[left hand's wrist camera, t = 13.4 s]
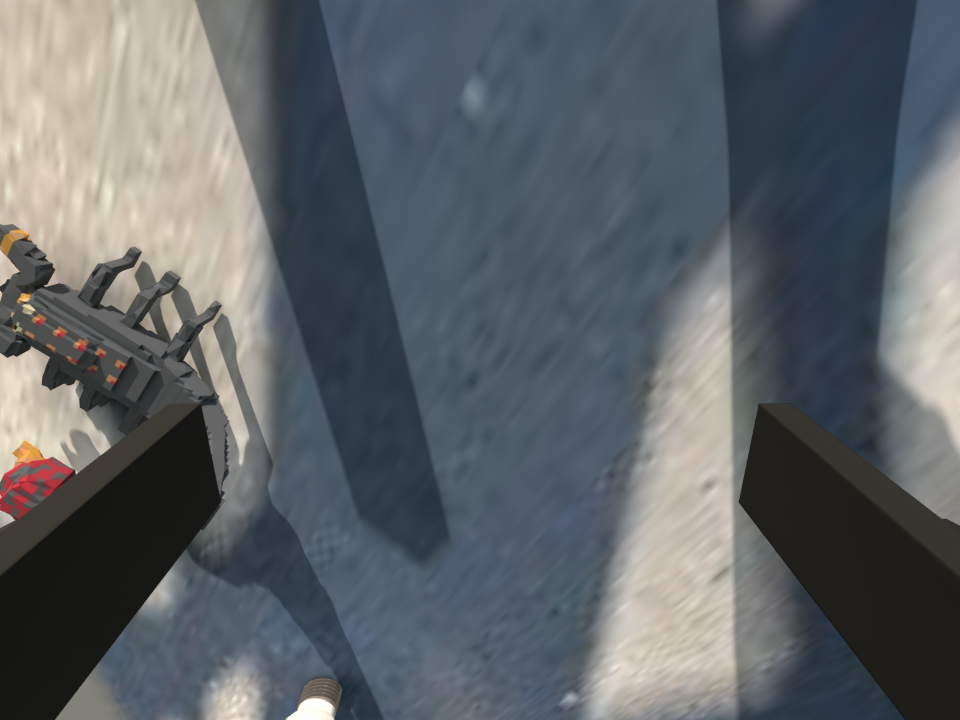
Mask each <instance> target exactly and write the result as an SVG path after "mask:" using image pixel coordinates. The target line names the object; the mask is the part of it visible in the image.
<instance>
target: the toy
mask: <svg viewBox="0 0 960 720" xmlns="http://www.w3.org/2000/svg"><path fill="white" fill-rule="evenodd" d="M28 237H29V235H28V234H27V233H25V232H24V231H22V230H21V229H19V228H18V227H16V226H14V225H13V224H11V225H1V224H0V250H1V251H2V252H3V253H4V254H5V255H6V256H7V257H8V258H9V259H10V260H11V262H12V263H13V264H14V265H15V267H16V268H17V269H18V270H19V271H20V272H18V273H16V274H13V275H12V277H11V279H7V281H6V283H5V284H3V285H2V286H0V291H1V292H2V297H1V301H0V353H1V354H3V355H4V356H6V357H7V358H8V357H10V356H12V355H14V356H16V357H17V356H19V355H21V354H22V353H24V352H26V351H28V350H30V348H31V346H32V347H34V348H35V349H37V350H39V351H40V352H42V353H44V354H46V355H47V356H49V357H50V359H49V361H48V363H47V366H46V369H45V371H44V374H43V377H42V385H44V386H46V387H48V388H49V389H50V390H52V389H54V388H56V387H58V386H60V385H62V384H66V385H72V384H74V382H75V380H76V379H77V380H78V381H80V382H82V383H84V384H85V385H84V391H83V393H82V395H81V397H80V399H79V402H80V408H82V409H83V410H85V411H89V410H90V409H92V408H93V407H95V406H97V405H99V406H100V407H102V406H104V405H106V404H107V403H108V401H109V400H110V398H112V399H115V400H116V401H118V402H120V403H122V404H123V405H125V406H127V407H129V410H128V411H127V413H126V415H125V417H124V418H123V420H122V422H121V424H120V426H119V428H118V430H120V431H122V432H123V433H125V434H127V435H128V434H130V433H131V432H132V431H133V430H135V429H136V428H137V427H139V426H140V425H141V424H143V423H144V422H145V421H146V420H148V419H149V418H150V417H152V416H153V415H154V414H156V413H157V412H158V411H159V410H161V409H162V408H163V407H165V406H166V405H167V404H201V406H202V411H203V415H204V420H205V425H206V430H207V435H208V440H209V445H210V450H211V455H212V460H213V464H214V469H215V474H216V479H217V484H218V489H219V494H220V499H221V503H220V505H219V506H218V507H217V508H216V510H215V511H214V512H213V514H212V515H211V516H210V518H209V519H208V520H207V522H206V523H205V524H204V525H203V527H202V528H201V529H202V530H204V529H205V527H206V526H207V525H208V523H209V522H210V521H211V519H212V518H213V516H214V515H215V514H216V512H217V511H218V509H219V508H220V507H221V505H222V504H223V503H224V501H225V500H223V499H222V496H223V495H224V493H225V492H224V491H222V490H221V489H222V485H223V481H224V479H225V478H226V477H227V475H228V474H229V470H228V467H229V465H227V464H226V463H227V462H228V460H229V459H228V458H227V457H226V456H227V455H228V454H229V452H228V451H226V450H227V449H228V447H229V446H228V445H227V444H226V443H227V440H226V437H227V433H226V431H225V427H226V425H227V424H228V422H229V420H227V416H225V415H224V414H222V413H221V412H222V410H220V406H219V404H218V401H217V399H218V398H219V396H218V395H217V394H216V393H215V391H214V390H213V389H212V388H210V387H209V386H208V385H207V384H206V383H205V382H204V381H203V380H202V379H200V378H199V377H198V375H197V372H196V371H195V370H194V369H193V368H192V367H191V366H189V365H188V364H187V363H186V362H185V361H183V360H184V358H185V356H186V354H187V352H188V351H189V349H190V347H191V345H192V343H193V341H194V340H195V339H196V337H197V336H198V334H199V333H200V332H201V330H202V329H203V326H204V325H205V324H206V323H208V322H210V321H211V320H213V319H214V317H215V316H216V314H217V312H218V311H219V309H220V308H221V306H222V305H221V304H219V303H218V302H216V301H214V302H213V303H212V305H211V306H210V307H209V308H208V309H207V310H206V311H205V312H204V313H202V314H201V315H199V316H197V317H195V318H193V319H192V320H191V319H190V318H189V319H187V320H185V321H184V323H183V325H182V327H181V328H180V330H179V332H178V333H176V334H175V336H174V338H173V340H172V342H171V344H170V346H169V343H168V342H167V341H165V340H164V339H162V338H161V337H160V336H158V335H157V334H155V333H154V332H152V331H147V330H146V329H145V328H144V327H142V326H141V325H140V324H139V323H140V322H141V321H142V320H143V318H144V317H145V315H146V314H147V312H148V311H149V309H150V308H151V306H152V305H153V303H154V302H155V300H156V299H157V298H158V297H160V296H163V295H165V294H168V293H170V292H171V291H173V290H174V289H175V287H176V285H177V284H178V282H179V280H180V279H181V277H179V276H178V275H176V274H175V273H173V272H172V271H168V272H166V273H165V274H164V276H163V277H162V278H161V280H160V281H159V282H158V283H157V284H156V285H154V286H152V287H150V288H147V289H145V290H143V291H141V292H140V293H138V294H137V296H136V298H135V299H134V301H133V303H132V304H131V306H130V308H129V309H128V311H127V313H126V314H124V313H123V312H121V311H119V310H118V309H116V308H115V307H113V306H112V305H111V306H108V307H104V306H103V305H101V304H100V302H101V300H102V298H103V296H104V294H105V292H106V290H107V289H108V288H109V287H110V285H111V284H112V282H113V281H114V279H115V278H116V276H117V275H118V273H120V272H122V271H123V270H126V269H129V268H132V267H134V265H135V264H136V262H137V260H138V258H139V256H140V254H141V253H142V251H140V250H139V249H137V248H136V247H132V248H130V249H129V250H128V252H127V253H126V255H125V256H124V257H123V258H121V259H117V260H114V261H111V262H107V263H104V264H98V265H97V266H96V268H95V269H94V270H93V272H92V273H91V275H90V277H89V278H88V280H87V282H86V283H85V285H84V287H83V288H82V290H81V292H79V291H77V290H75V291H74V290H73V289H71V288H70V287H68V286H67V285H64V284H60V283H59V284H55V285H52V286H48V287H45V286H44V285H47V284H48V282H49V280H50V278H51V277H52V275H53V273H54V271H55V269H54V268H53V267H52V266H53V263H50V262H48V260H47V259H45V257H46V254H45V253H43V252H42V251H41V250H39V249H38V248H37V247H36V246H37V245H35V244H33V242H32V241H31V240H30V239H29V238H28ZM12 454H14V455H15V456H16V457H17V458H18V460H17V461H16V462H15V465H14V469H12V470H10V471H9V472H7V473H5V474H4V476H3V478H2V480H1V482H0V495H1V496H2V497H1V499H0V510H1V511H3V512H5V513H8V514H10V515H11V516H12V517H13V518H14V519H15V520H18V519H19V518H20V517H22V516H23V515H24V514H25V513H27V512H28V511H29V510H31V509H32V508H33V507H35V506H36V505H37V504H39V503H40V502H41V501H42V500H44V499H45V498H46V497H48V496H49V495H50V494H52V493H53V492H54V491H55V490H57V489H58V488H59V487H61V486H62V485H63V484H65V483H66V482H67V481H68V480H70V479H71V478H72V477H74V476H75V475H76V472H75V469H72V468H70V467H68V466H66V465H65V464H63V463H62V462H60V461H58V460H57V459H55V458H54V457H51V458H49V459H45V458H44V457H43V456H42V454H41V452H40V451H39V450H38V449H37V448H35V447H34V446H32V445H31V444H29V443H28V442H26V441H24V442H23V443H22V445H21V446H20V447H19V448H18V449H17V450H15V451H14V452H13V453H12Z"/></svg>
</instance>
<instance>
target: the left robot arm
mask: <svg viewBox="0 0 960 720" xmlns="http://www.w3.org/2000/svg"><path fill="white" fill-rule="evenodd" d="M220 503H221V499H220V494H219V489H218V484H217V479H216V474H215V469H214V464H213V460H212V455H211V450H210V445H209V440H208V435H207V430H206V425H205V420H204V415H203V411H202V406H201V404H167V405H166V406H165V407H163V408H162V409H161V410H159V411H158V412H157V413H156V414H154V415H153V416H152V417H150V418H149V419H148V420H146V421H145V422H144V423H143V424H141V425H140V426H139V427H137V428H136V429H135V430H133V431H132V432H131V433H130V434H128V435H127V436H126V437H124V438H123V439H122V440H120V441H119V442H118V443H117V444H115V445H114V446H113V447H111V448H110V449H109V450H107V451H106V452H105V453H104V454H102V455H101V456H100V457H98V458H97V459H96V460H94V461H93V462H92V463H91V464H89V465H88V466H87V467H85V468H84V469H83V470H81V471H80V472H79V473H78V474H76V475H75V476H74V477H72V478H71V479H70V480H68V481H67V482H66V483H65V484H63V485H62V486H61V487H59V488H58V489H57V490H55V491H54V492H53V493H52V494H50V495H49V496H48V497H46V498H45V499H44V500H42V501H41V502H40V503H39V504H37V505H36V506H35V507H33V508H32V509H31V510H29V511H28V512H27V513H25V514H24V515H23V516H22V517H20V518H19V519H18V520H16V521H13V522H11V523H9V524H7V525H5V526H3V527H2V528H0V720H55V719H56V718H57V716H58V715H59V714H60V712H61V711H62V710H63V708H64V707H65V706H66V704H67V703H68V702H69V701H70V699H71V698H72V697H73V695H74V694H75V693H76V691H77V690H78V689H79V687H80V686H81V685H82V684H83V682H84V681H85V680H86V678H87V677H88V676H89V674H90V673H91V672H92V670H93V669H94V668H95V667H96V665H97V664H98V663H99V661H100V660H101V659H102V657H103V656H104V655H105V654H106V652H107V651H108V650H109V648H110V647H111V646H112V644H113V643H114V642H115V640H116V639H117V638H118V637H119V635H120V634H121V633H122V631H123V630H124V629H125V627H126V626H127V625H128V623H129V622H130V621H131V620H132V618H133V617H134V616H135V614H136V613H137V612H138V610H139V609H140V608H141V606H142V605H143V604H144V603H145V601H146V600H147V599H148V597H149V596H150V595H151V593H152V592H153V591H154V589H155V588H156V587H157V586H158V584H159V583H160V582H161V580H162V579H163V578H164V576H165V575H166V574H167V572H168V571H169V570H170V569H171V567H172V566H173V565H174V563H175V562H176V561H177V559H178V558H179V557H180V555H181V554H182V553H183V552H184V550H185V549H186V548H187V546H188V545H189V544H190V542H191V541H192V540H193V538H194V537H195V536H196V535H197V533H198V532H199V531H200V529H201V528H202V527H203V525H204V524H205V523H206V522H207V520H208V519H209V518H210V516H211V515H212V514H213V512H214V511H215V510H216V508H217V507H218V506H219V505H220ZM739 503H740V505H741V506H742V507H743V508H744V510H745V511H746V512H747V514H748V515H749V516H750V518H751V519H752V520H753V522H754V523H755V524H756V525H757V527H758V528H759V529H760V531H761V532H762V533H763V535H764V536H765V537H766V539H767V540H768V541H769V542H770V544H771V545H772V546H773V548H774V549H775V550H776V552H777V553H778V554H779V555H780V557H781V558H782V559H783V561H784V562H785V563H786V565H787V566H788V567H789V569H790V570H791V571H792V572H793V574H794V575H795V576H796V578H797V579H798V580H799V582H800V583H801V584H802V586H803V587H804V588H805V589H806V591H807V592H808V593H809V595H810V596H811V597H812V599H813V600H814V601H815V603H816V604H817V605H818V606H819V608H820V609H821V610H822V612H823V613H824V614H825V616H826V617H827V618H828V620H829V621H830V622H831V623H832V625H833V626H834V627H835V629H836V630H837V631H838V633H839V634H840V635H841V637H842V638H843V639H844V640H845V642H846V643H847V644H848V646H849V647H850V648H851V650H852V651H853V652H854V654H855V655H856V656H857V657H858V659H859V660H860V661H861V663H862V664H863V665H864V667H865V668H866V669H867V670H868V672H869V673H870V674H871V676H872V677H873V678H874V680H875V681H876V682H877V684H878V685H879V686H880V687H881V689H882V690H883V691H884V693H885V694H886V695H887V697H888V698H889V699H890V701H891V702H892V703H893V704H894V706H895V707H896V708H897V710H898V711H899V712H900V714H901V715H902V716H903V718H904V719H905V720H960V526H959V525H957V524H955V523H953V522H951V521H949V520H947V519H941V518H940V517H938V516H937V515H936V514H934V513H933V512H932V511H931V510H929V509H928V508H927V507H925V506H924V505H923V504H921V503H920V502H919V501H918V500H916V499H915V498H914V497H912V496H911V495H910V494H908V493H907V492H906V491H905V490H903V489H902V488H901V487H899V486H898V485H897V484H895V483H894V482H893V481H892V480H890V479H889V478H888V477H886V476H885V475H884V474H882V473H881V472H880V471H879V470H877V469H876V468H875V467H873V466H872V465H871V464H869V463H868V462H867V461H866V460H864V459H863V458H862V457H860V456H859V455H858V454H856V453H855V452H854V451H853V450H851V449H850V448H849V447H847V446H846V445H845V444H843V443H842V442H841V441H840V440H838V439H837V438H836V437H834V436H833V435H832V434H830V433H829V432H828V431H827V430H825V429H824V428H823V427H821V426H820V425H819V424H817V423H816V422H815V421H814V420H812V419H811V418H810V417H808V416H807V415H806V414H804V413H803V412H802V411H801V410H799V409H798V408H797V407H795V406H794V405H793V404H759V406H758V411H757V415H756V420H755V425H754V430H753V435H752V440H751V445H750V450H749V455H748V460H747V464H746V469H745V474H744V479H743V484H742V489H741V494H740V499H739Z"/></svg>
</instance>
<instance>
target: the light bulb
mask: <svg viewBox="0 0 960 720" xmlns="http://www.w3.org/2000/svg"><path fill="white" fill-rule="evenodd" d="M341 694H342V688H341V686H340V685H339V683H337V682H336V681H334V680H331V679H324V678H322V679H315V680H312V681H310V682H309V683H307V684H306V685H305V687H304V689H303V692H302V695H301V698H300V701H299V704H298V707H297V711H296V712H295V713H293V714H292V715H291V716H289V717H288V718H287V719H286V720H334V717H335V714H336V713H337V710H338V705H339V701H340V698H341Z"/></svg>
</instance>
